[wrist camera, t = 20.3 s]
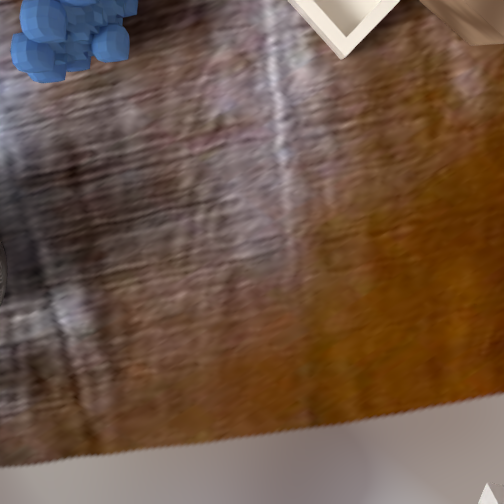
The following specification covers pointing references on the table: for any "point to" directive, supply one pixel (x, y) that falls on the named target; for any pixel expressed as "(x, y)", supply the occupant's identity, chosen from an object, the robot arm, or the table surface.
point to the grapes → (70, 36)
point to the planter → (2, 272)
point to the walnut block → (472, 19)
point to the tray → (343, 20)
